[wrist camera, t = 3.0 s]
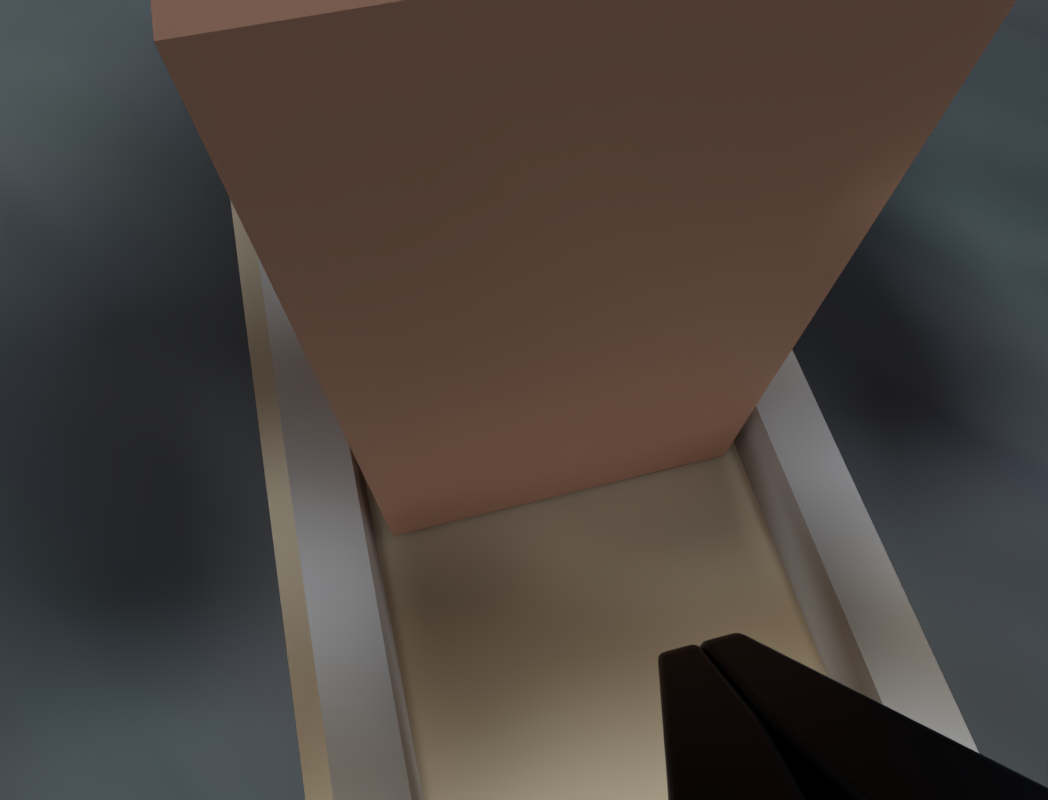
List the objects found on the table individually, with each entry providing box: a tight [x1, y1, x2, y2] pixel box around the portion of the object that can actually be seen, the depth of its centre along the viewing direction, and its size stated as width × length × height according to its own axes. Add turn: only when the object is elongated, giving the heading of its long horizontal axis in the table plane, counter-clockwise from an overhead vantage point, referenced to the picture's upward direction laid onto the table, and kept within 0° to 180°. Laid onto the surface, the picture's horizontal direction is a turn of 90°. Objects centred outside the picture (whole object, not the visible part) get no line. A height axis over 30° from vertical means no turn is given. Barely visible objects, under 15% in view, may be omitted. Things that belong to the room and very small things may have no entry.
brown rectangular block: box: [151, 0, 1016, 536], centre depth 10 cm, size 4×6×10 cm, turn 104°
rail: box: [230, 200, 979, 800], centre depth 14 cm, size 23×10×6 cm, turn 14°
